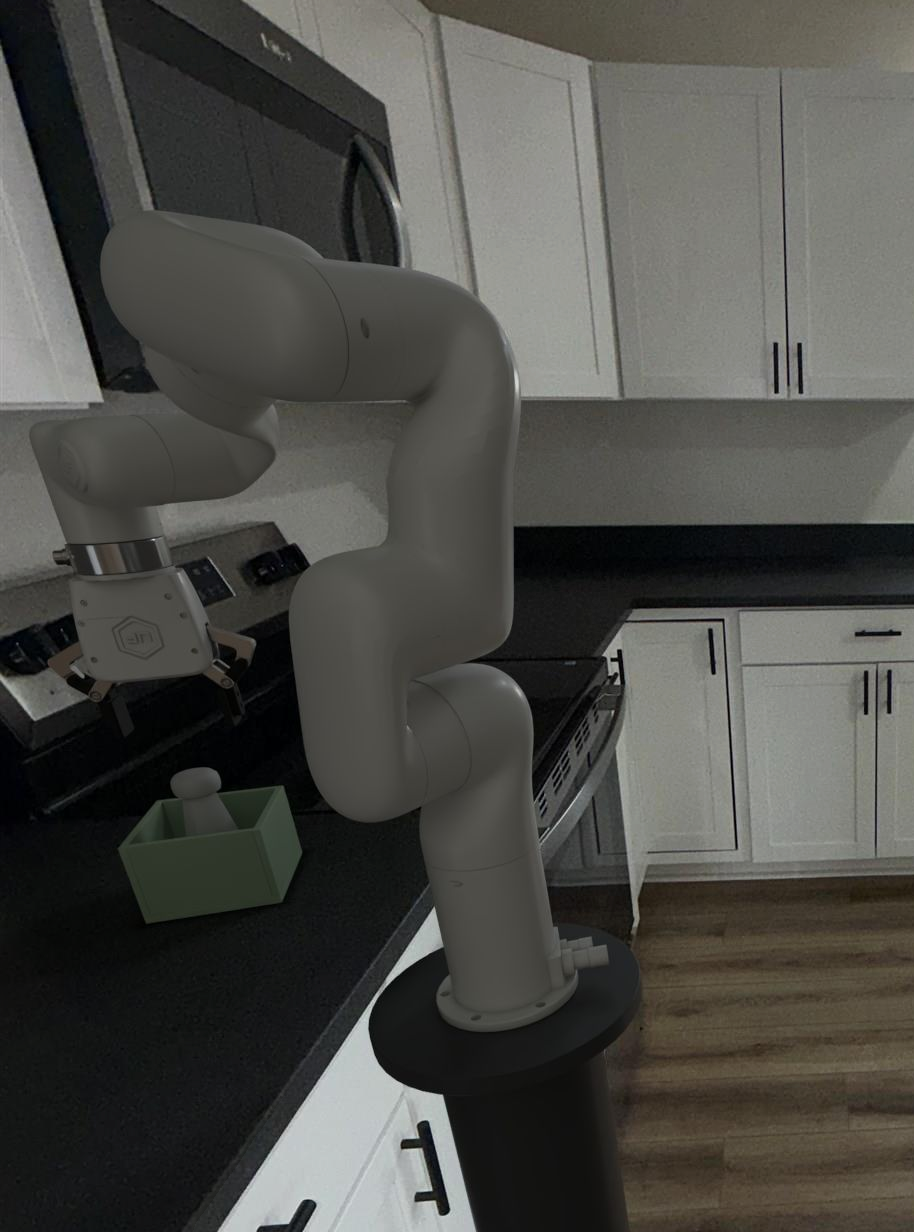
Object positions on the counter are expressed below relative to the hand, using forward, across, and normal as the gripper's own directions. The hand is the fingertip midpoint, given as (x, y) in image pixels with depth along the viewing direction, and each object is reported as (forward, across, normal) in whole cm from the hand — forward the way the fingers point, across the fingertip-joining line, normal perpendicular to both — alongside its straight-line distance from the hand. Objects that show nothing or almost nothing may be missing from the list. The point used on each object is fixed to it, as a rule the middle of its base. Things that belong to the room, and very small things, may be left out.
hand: (181, 728), depth 95 cm
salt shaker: (+18, -1, 0) cm, 18 cm away
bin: (+19, -1, +1) cm, 19 cm away
